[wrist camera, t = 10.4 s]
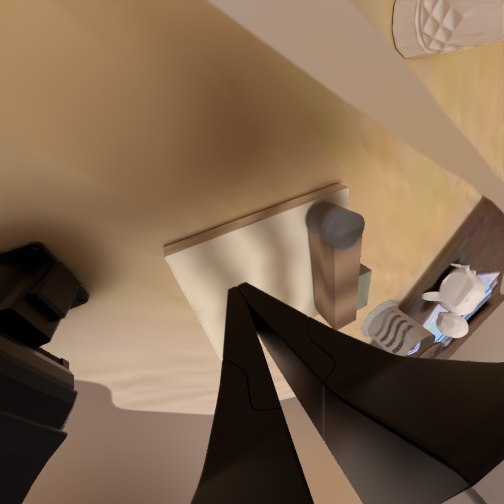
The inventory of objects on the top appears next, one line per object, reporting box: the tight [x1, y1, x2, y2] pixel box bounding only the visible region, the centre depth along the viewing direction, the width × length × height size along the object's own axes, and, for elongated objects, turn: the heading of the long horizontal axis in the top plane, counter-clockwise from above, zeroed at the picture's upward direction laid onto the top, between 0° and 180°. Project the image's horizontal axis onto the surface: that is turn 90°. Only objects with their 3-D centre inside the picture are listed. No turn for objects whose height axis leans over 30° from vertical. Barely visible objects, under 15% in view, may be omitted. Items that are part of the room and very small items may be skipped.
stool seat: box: [163, 184, 372, 362], centre depth 25 cm, size 20×18×6 cm
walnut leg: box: [307, 201, 365, 330], centre depth 24 cm, size 16×4×4 cm, turn 15°
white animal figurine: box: [421, 263, 485, 338], centre depth 46 cm, size 9×8×15 cm
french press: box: [361, 300, 469, 361], centre depth 35 cm, size 10×12×25 cm
